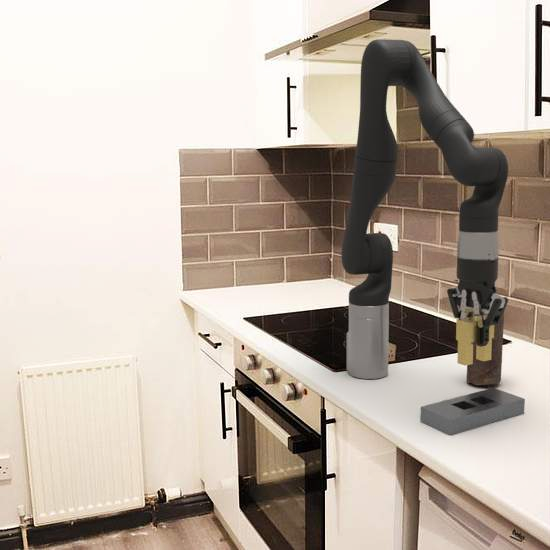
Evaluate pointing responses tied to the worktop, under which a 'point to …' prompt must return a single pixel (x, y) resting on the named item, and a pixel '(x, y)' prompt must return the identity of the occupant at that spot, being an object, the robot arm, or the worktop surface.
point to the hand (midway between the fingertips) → (475, 343)
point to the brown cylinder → (490, 369)
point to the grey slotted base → (472, 410)
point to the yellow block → (471, 341)
